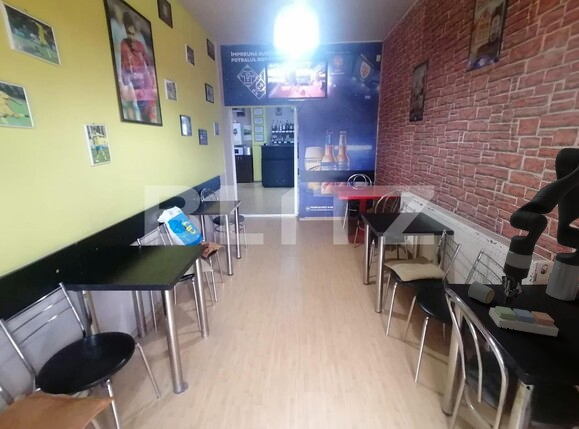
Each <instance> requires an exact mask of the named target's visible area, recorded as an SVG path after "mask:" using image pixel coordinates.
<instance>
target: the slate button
mask: <svg viewBox="0 0 579 429" xmlns="http://www.w3.org/2000/svg"><path fill="white" fill-rule="evenodd" d="M512 311H513V312H514V313H515V315H516V317H515V318H516V319H517V320H518V321H522V322H529V323H534V320H535V318H534V316H533V315H532V314H531V311H529V310H526V309H519V308H512Z"/></svg>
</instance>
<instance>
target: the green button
mask: <svg viewBox="0 0 579 429" xmlns="http://www.w3.org/2000/svg"><path fill="white" fill-rule="evenodd" d="M494 308H495V313H496V314H497V315H498V317H499V318H503V319H509V320H515V317H516V315H515V313H514V312H513V309H511V307H505V306H498V305H496V306H495V307H494Z"/></svg>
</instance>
